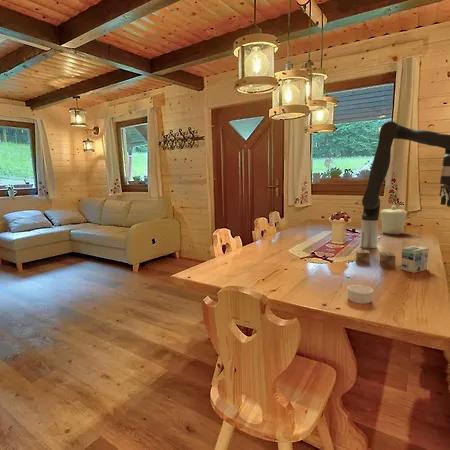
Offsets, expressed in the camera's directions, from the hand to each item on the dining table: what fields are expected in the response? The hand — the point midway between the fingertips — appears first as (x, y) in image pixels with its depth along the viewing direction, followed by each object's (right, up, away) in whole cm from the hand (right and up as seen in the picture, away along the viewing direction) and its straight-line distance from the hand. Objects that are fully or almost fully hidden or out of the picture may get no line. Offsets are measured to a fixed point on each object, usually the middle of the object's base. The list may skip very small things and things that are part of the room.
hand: (446, 205), depth 167 cm
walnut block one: (-37, -31, -10) cm, 49 cm away
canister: (+8, -17, +69) cm, 71 cm away
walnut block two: (-47, -30, -4) cm, 56 cm away
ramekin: (-68, -39, -51) cm, 94 cm away
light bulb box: (-28, -32, -17) cm, 46 cm away
